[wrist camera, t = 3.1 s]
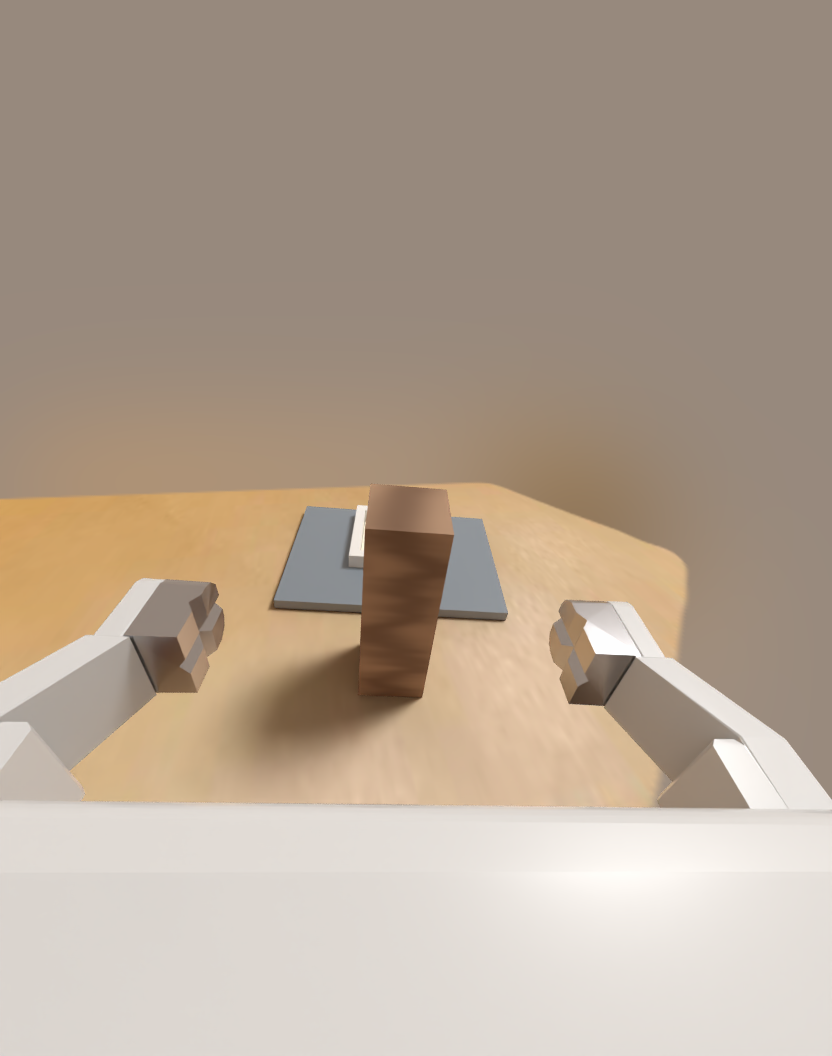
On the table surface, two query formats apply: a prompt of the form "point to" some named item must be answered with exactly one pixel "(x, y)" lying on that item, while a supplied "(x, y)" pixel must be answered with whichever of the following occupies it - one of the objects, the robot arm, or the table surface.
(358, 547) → the socket
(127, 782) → the table surface
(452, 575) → the board
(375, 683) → the pillar
